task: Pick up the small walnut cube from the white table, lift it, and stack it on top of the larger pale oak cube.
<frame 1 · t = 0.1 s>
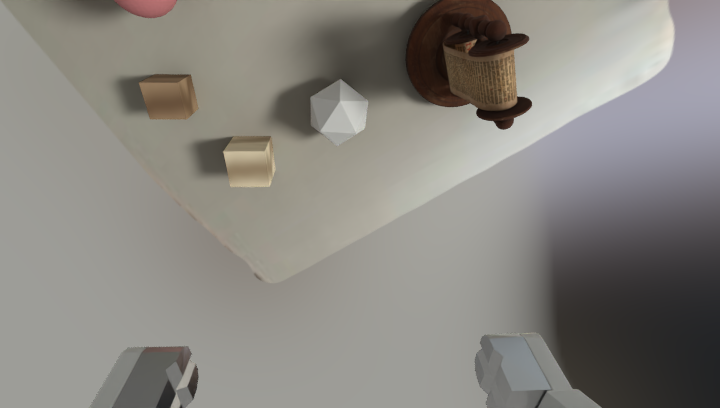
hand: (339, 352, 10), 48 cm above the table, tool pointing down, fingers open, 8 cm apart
oak cube: (255, 153, 58), on the table
die: (338, 105, 54), on the table
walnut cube: (177, 91, 52), on the table
scroll: (453, 51, 51), on the table
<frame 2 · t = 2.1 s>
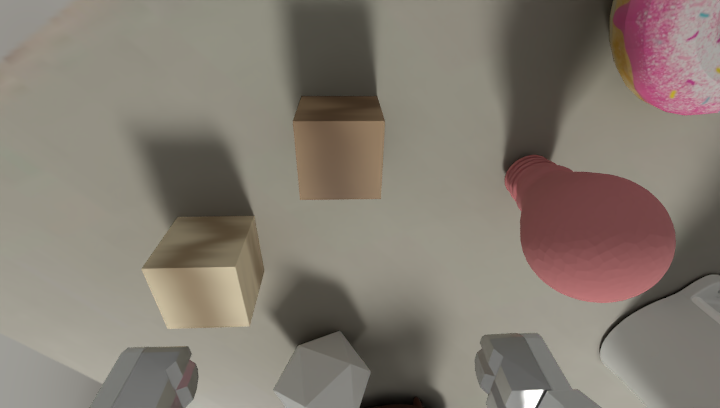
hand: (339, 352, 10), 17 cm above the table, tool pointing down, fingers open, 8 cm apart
light bulb: (522, 167, 27), on the table
oak cube: (223, 245, 29), on the table
die: (325, 344, 37), on the table
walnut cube: (340, 131, 24), on the table
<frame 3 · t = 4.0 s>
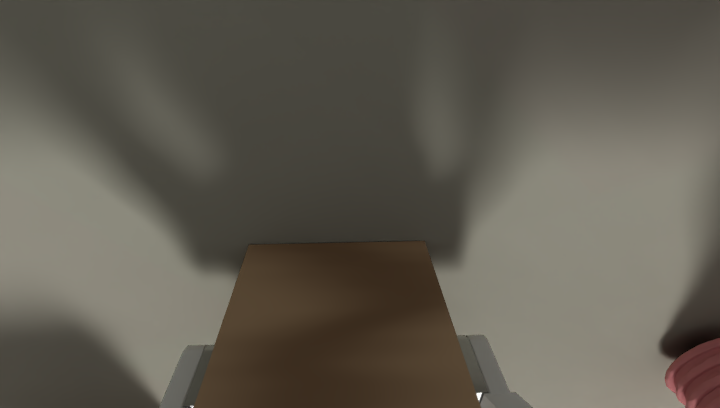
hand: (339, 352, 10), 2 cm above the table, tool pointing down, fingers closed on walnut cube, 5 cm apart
light bulb: (693, 341, 14), on the table
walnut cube: (339, 303, 11), on the table, touching gripper
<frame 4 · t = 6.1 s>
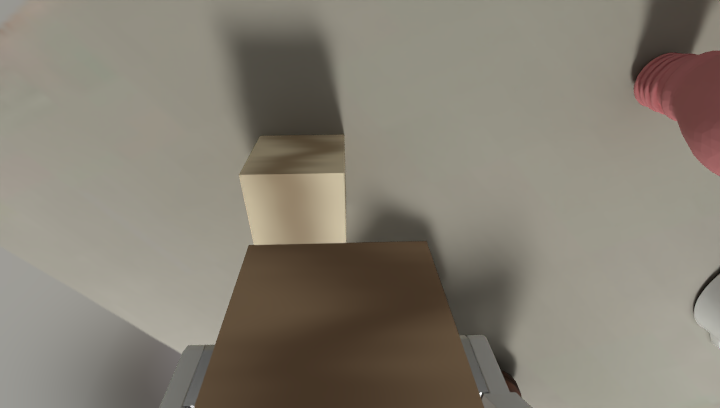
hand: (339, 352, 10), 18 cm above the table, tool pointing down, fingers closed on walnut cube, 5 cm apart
light bulb: (651, 73, 24), on the table
oak cube: (306, 171, 27), on the table
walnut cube: (340, 304, 11), point 16 cm above the table, touching gripper
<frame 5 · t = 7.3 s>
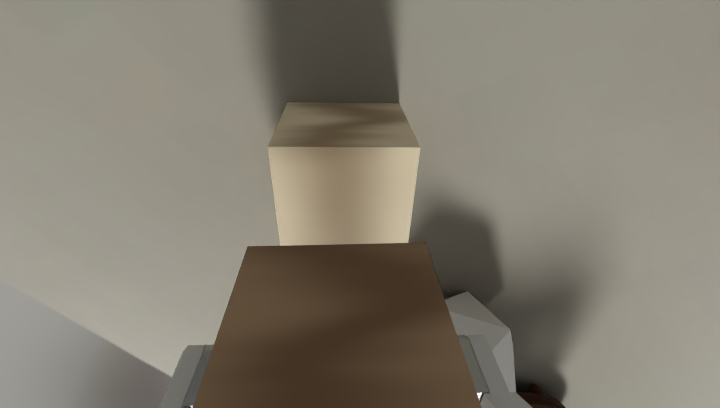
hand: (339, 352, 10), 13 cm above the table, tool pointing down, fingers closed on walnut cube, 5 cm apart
oak cube: (343, 153, 20), on the table
die: (441, 310, 28), on the table
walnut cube: (339, 305, 11), point 11 cm above the table, touching gripper
when the fingers open (9 cm above the table, at t = 8.3 s): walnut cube drops 1 cm, resting on oak cube.
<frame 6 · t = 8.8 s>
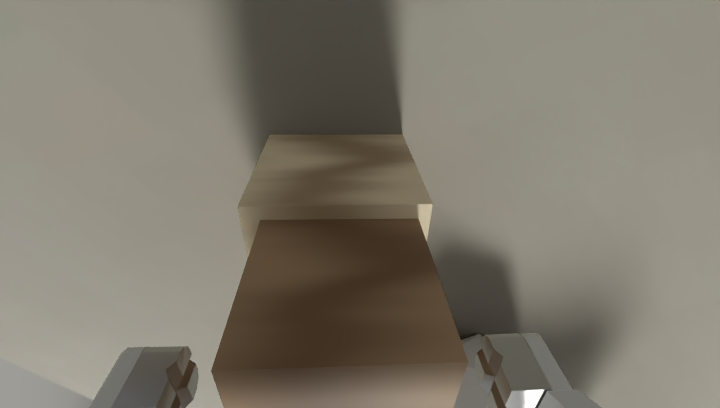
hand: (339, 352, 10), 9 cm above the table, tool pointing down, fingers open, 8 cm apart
oak cube: (337, 191, 17), on the table, touching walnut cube
die: (450, 353, 25), on the table
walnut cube: (340, 276, 12), point 6 cm above the table, touching oak cube
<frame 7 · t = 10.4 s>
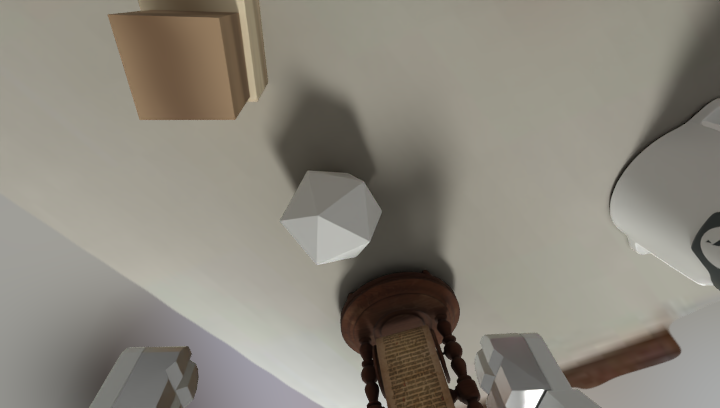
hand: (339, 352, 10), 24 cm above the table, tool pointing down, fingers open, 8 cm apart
oak cube: (224, 42, 27), on the table, touching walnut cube
die: (331, 194, 35), on the table
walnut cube: (204, 56, 22), point 6 cm above the table, touching oak cube
scroll: (396, 305, 45), on the table
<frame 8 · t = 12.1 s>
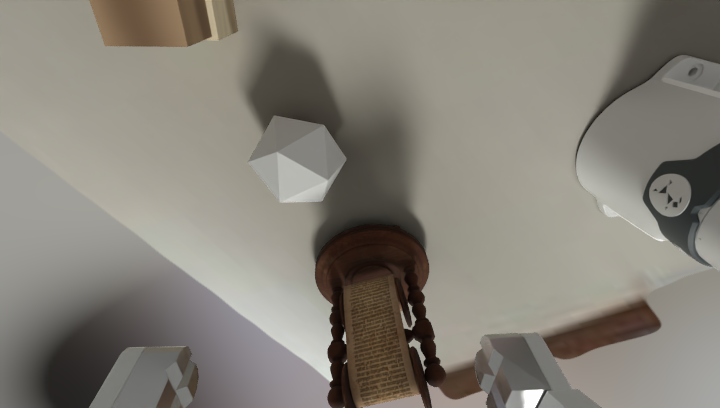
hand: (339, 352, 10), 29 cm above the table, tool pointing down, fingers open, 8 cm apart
die: (302, 144, 37), on the table
scroll: (370, 261, 47), on the table
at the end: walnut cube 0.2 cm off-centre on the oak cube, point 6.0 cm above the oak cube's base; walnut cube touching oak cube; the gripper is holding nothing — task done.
